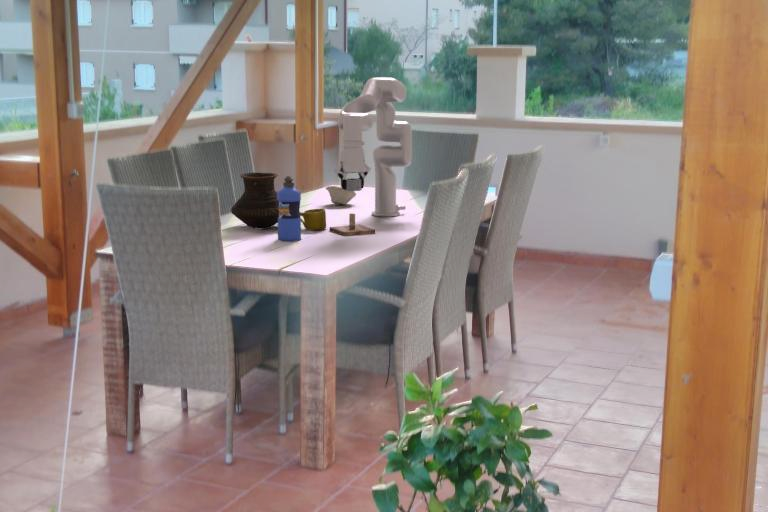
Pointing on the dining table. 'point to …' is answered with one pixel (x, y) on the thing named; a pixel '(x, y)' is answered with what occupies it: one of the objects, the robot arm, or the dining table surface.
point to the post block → (352, 228)
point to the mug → (314, 219)
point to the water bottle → (289, 212)
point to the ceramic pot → (257, 201)
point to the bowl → (340, 195)
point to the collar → (353, 184)
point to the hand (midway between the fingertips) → (352, 188)
